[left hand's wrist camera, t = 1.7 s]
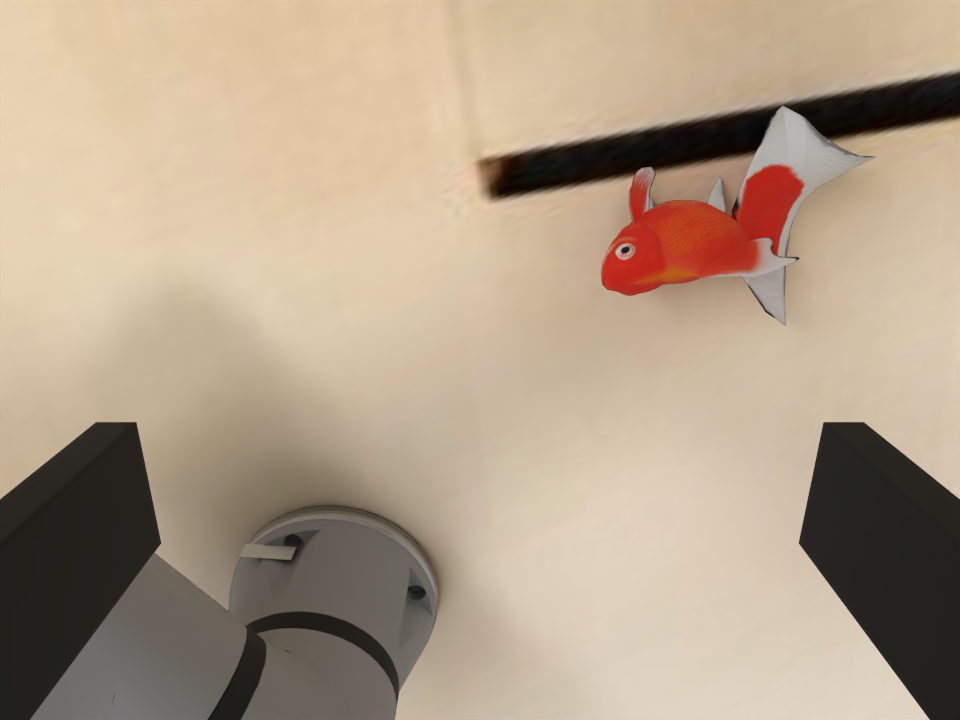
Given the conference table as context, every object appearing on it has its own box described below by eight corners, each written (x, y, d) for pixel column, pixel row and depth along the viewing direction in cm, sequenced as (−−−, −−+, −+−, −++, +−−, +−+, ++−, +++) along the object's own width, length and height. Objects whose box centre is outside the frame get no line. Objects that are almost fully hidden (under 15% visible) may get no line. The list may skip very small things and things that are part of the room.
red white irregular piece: (577, 92, 32) (709, 175, 25) (810, 66, 38) (970, 130, 31) (551, 275, 39) (650, 380, 32) (751, 232, 45) (871, 313, 38)
